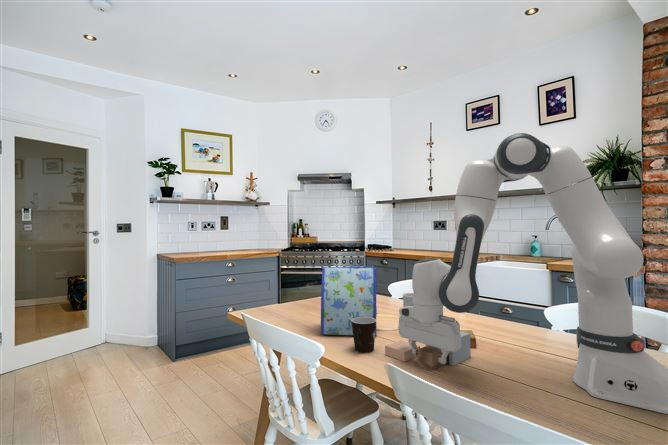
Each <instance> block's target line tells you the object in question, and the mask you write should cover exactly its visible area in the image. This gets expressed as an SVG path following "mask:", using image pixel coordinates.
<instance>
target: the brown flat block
mask: <svg viewBox="0 0 668 445" xmlns="http://www.w3.org/2000/svg"><path fill="white" fill-rule="evenodd" d="M460 331H461V332H466V333H470V349H475V350H476V349H477V340H476V335H475V334H474V332H473V330H469V329H468V330H467V329H465V330H464V329H460Z"/></svg>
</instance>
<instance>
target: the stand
mask: <svg viewBox="0 0 668 445" xmlns="http://www.w3.org/2000/svg"><path fill="white" fill-rule="evenodd" d="M416 346H417V348H419V349H420V348H421V345H420V344H416ZM384 355H385V356H387V357H390V358H393V359H395V360H399V361H402V362H407V361H410V360H412V359H416V358H418V355H414V354H412V348H411V346H410V344H409V341H405V340H398V341H395V342H391V343H389V344H386V345H385V346H384Z"/></svg>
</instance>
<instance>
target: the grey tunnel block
mask: <svg viewBox="0 0 668 445" xmlns="http://www.w3.org/2000/svg"><path fill="white" fill-rule="evenodd" d="M460 335H461V344H462V347H461V349H460V350H458V351H456V352H449V363H448V365H450V366H452V367H453V366H456V365H458V364H460V363H461V362H464V361H466V360H468V359H470V358H472V357H471V354H472V353H471V348H470V333H466V332H461V331H460ZM425 346H428V345H427V344H425Z"/></svg>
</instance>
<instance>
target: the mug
mask: <svg viewBox="0 0 668 445" xmlns="http://www.w3.org/2000/svg"><path fill="white" fill-rule="evenodd" d="M413 298H414V292H407V293H403V294H402V300H403V302H402V303H403V304H402V305H403V307H406V306H409V305H413ZM403 307H402V308H403Z"/></svg>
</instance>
